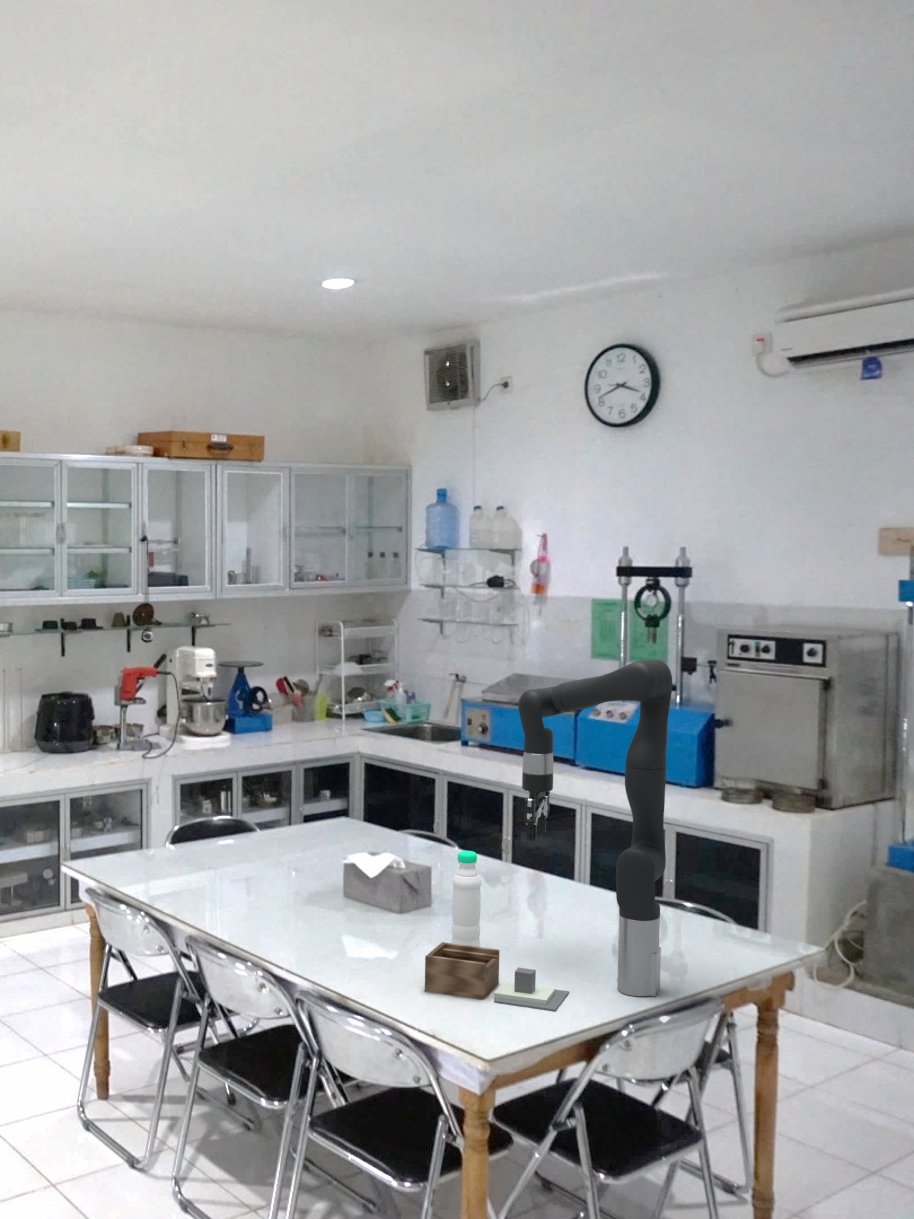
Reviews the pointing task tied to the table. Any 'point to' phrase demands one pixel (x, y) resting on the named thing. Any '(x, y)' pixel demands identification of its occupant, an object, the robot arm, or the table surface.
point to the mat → (550, 1006)
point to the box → (462, 970)
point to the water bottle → (466, 901)
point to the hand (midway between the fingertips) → (536, 836)
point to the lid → (525, 988)
